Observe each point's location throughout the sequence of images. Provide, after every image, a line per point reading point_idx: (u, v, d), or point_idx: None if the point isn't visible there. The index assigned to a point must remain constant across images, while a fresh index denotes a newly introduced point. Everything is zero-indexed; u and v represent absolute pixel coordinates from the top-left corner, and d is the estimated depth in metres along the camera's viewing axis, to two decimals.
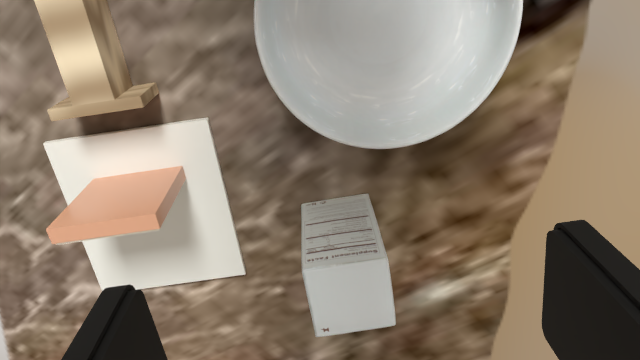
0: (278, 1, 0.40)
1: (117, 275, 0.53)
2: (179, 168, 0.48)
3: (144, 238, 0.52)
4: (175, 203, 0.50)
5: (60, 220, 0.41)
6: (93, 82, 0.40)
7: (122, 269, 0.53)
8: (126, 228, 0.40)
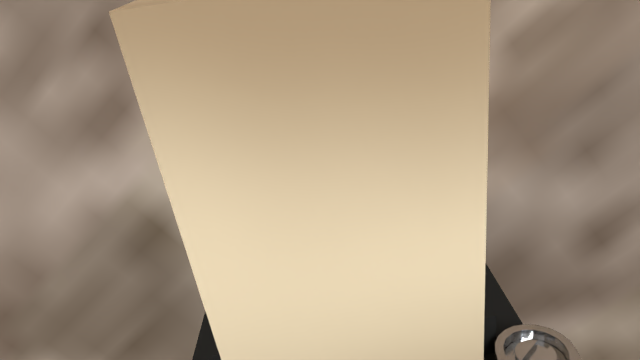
0: None
1: None
2: None
3: None
4: None
5: None
6: None
7: None
8: None
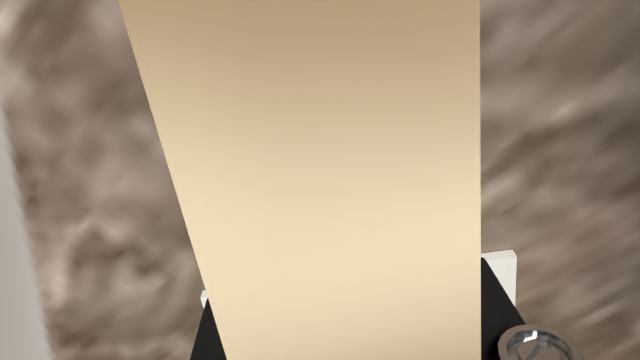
0: None
1: None
2: None
3: None
4: None
5: None
6: None
7: None
8: None
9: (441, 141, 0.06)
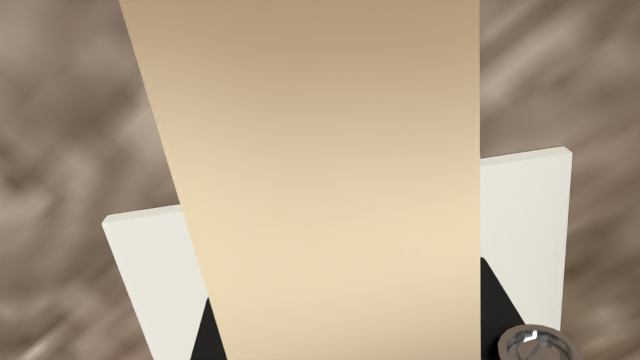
0: None
1: None
2: None
3: None
4: None
5: None
6: None
7: None
8: None
9: (441, 140, 0.06)
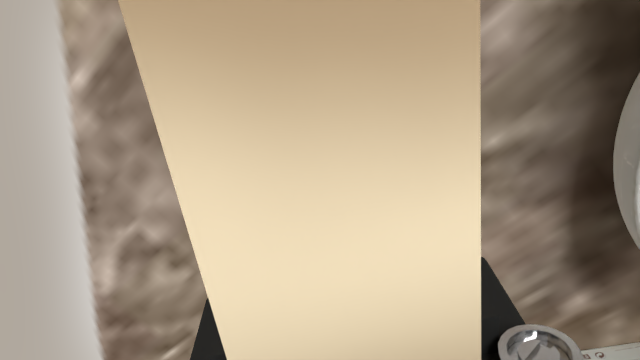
0: None
1: None
2: None
3: None
4: None
5: None
6: None
7: None
8: None
9: (441, 142, 0.06)
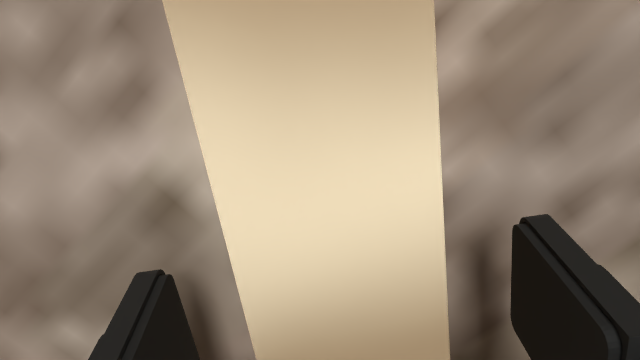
0: None
1: None
2: None
3: None
4: None
5: None
6: None
7: None
8: None
9: (407, 89, 0.07)
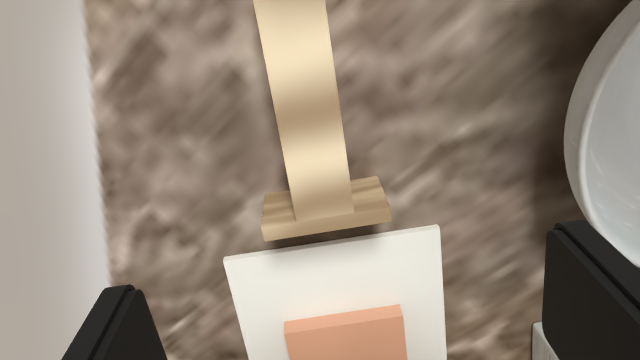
0: None
1: None
2: (401, 322, 0.37)
3: None
4: None
5: None
6: (330, 192, 0.29)
7: None
8: None
9: (317, 11, 0.25)
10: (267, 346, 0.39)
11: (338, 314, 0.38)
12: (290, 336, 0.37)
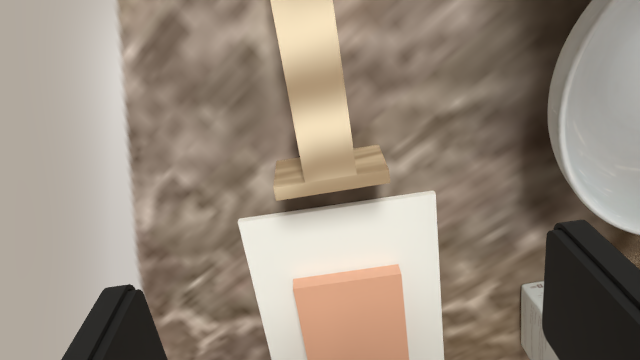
0: None
1: None
2: (400, 280, 0.40)
3: None
4: None
5: None
6: (334, 155, 0.33)
7: (305, 357, 0.46)
8: None
9: None
10: (277, 301, 0.43)
11: (342, 273, 0.41)
12: (298, 291, 0.40)
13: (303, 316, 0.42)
